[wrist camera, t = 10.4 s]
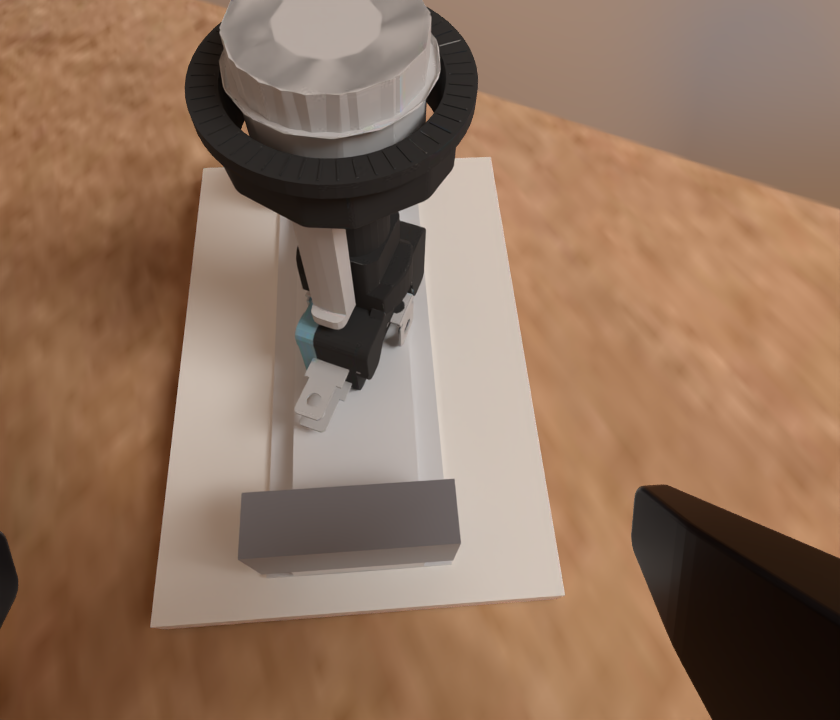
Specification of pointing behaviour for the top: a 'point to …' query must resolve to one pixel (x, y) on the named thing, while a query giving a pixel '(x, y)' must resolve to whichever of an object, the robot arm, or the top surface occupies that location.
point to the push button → (338, 156)
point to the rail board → (352, 434)
